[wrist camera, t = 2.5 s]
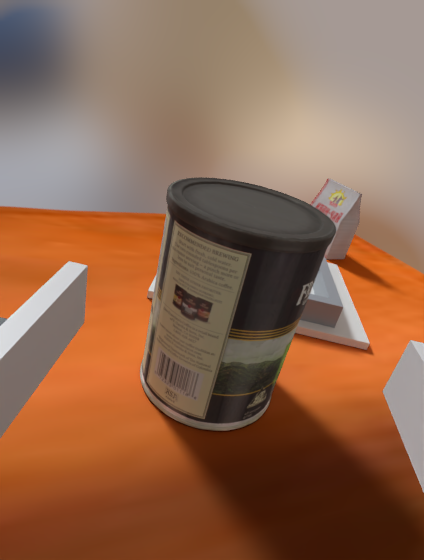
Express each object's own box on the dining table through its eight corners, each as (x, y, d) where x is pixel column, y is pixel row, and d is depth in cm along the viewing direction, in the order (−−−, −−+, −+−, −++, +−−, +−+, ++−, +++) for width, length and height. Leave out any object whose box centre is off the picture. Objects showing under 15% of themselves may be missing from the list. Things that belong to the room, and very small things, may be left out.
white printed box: (315, 239, 64) (338, 179, 59) (344, 259, 59) (370, 195, 54) (298, 239, 62) (319, 177, 57) (325, 259, 57) (351, 193, 52)
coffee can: (269, 351, 35) (324, 200, 28) (272, 448, 26) (353, 257, 19) (157, 324, 35) (185, 165, 28) (119, 410, 26) (147, 207, 19)
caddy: (147, 297, 38) (151, 267, 37) (179, 232, 54) (184, 210, 52) (366, 349, 38) (380, 322, 37) (334, 269, 54) (343, 248, 53)
